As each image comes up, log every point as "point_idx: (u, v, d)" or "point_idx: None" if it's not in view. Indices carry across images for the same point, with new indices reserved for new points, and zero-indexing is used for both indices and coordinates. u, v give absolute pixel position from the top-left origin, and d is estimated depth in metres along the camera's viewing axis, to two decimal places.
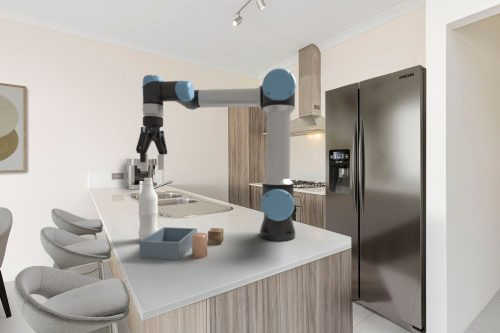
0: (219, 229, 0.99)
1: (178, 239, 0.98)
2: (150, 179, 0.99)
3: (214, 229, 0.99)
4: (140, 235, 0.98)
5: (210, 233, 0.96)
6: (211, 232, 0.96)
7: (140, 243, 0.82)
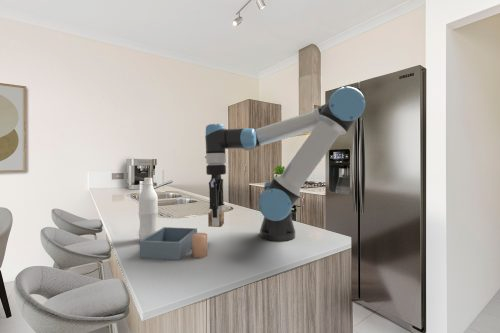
0: (219, 212, 0.99)
1: (178, 239, 0.98)
2: (150, 179, 0.99)
3: None
4: (140, 235, 0.98)
5: (211, 215, 0.96)
6: (211, 214, 0.96)
7: (140, 243, 0.82)
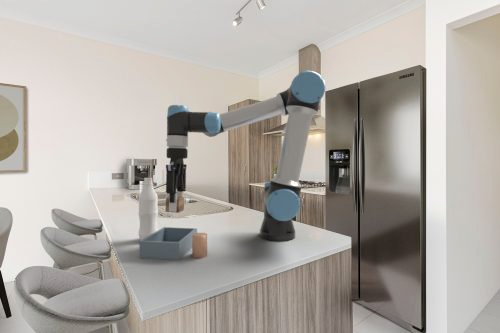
0: (179, 197, 0.95)
1: (178, 239, 0.98)
2: (150, 179, 0.99)
3: None
4: (140, 235, 0.98)
5: (168, 200, 0.92)
6: None
7: (140, 243, 0.82)
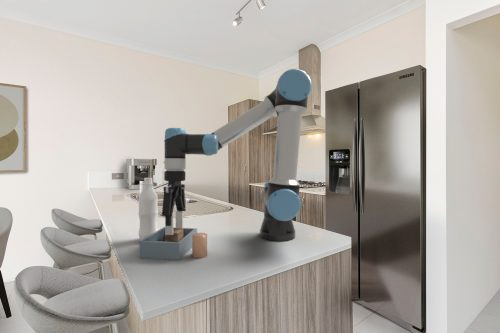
0: (178, 230, 0.95)
1: None
2: (150, 179, 0.99)
3: None
4: (140, 235, 0.98)
5: None
6: None
7: (140, 243, 0.82)
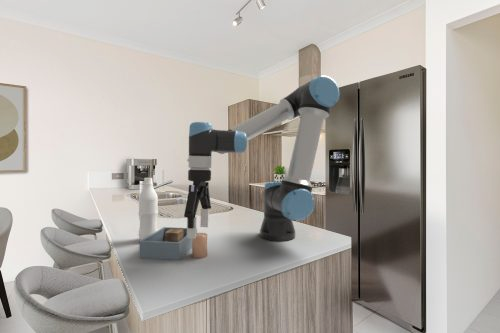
0: (178, 230, 0.95)
1: None
2: (150, 179, 0.99)
3: (172, 231, 0.95)
4: (140, 235, 0.98)
5: (167, 234, 0.92)
6: (168, 233, 0.92)
7: (140, 243, 0.82)
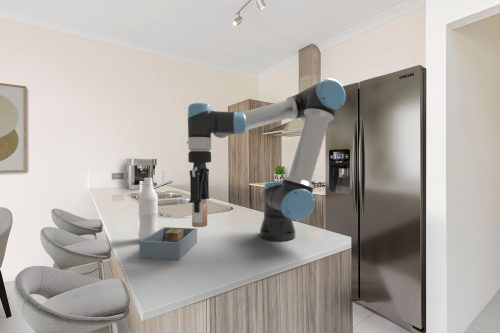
0: (178, 230, 0.95)
1: None
2: (150, 179, 0.99)
3: (172, 231, 0.95)
4: (140, 235, 0.98)
5: (167, 234, 0.92)
6: (168, 233, 0.92)
7: (140, 243, 0.82)
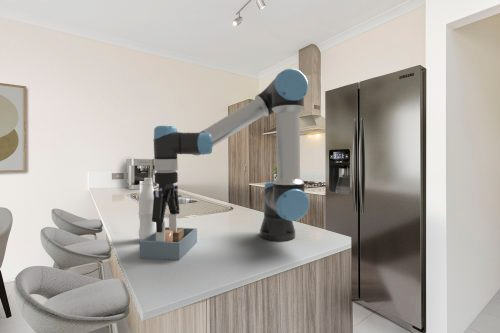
0: (179, 230, 0.96)
1: None
2: (150, 179, 0.99)
3: None
4: (140, 235, 0.98)
5: None
6: None
7: (140, 243, 0.82)
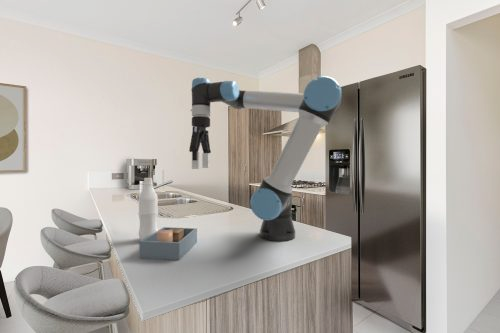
0: (179, 230, 0.96)
1: None
2: (150, 179, 0.99)
3: (173, 230, 0.95)
4: (140, 235, 0.98)
5: None
6: None
7: (140, 243, 0.82)
